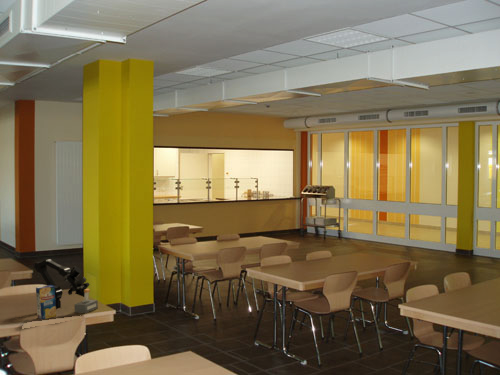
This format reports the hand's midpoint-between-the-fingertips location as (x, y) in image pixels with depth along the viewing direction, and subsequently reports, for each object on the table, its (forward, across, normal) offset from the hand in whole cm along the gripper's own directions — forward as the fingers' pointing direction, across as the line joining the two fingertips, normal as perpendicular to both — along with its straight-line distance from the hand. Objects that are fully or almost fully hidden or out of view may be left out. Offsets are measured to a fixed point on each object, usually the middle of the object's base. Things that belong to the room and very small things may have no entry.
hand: (85, 296), depth 395 cm
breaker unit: (+7, 0, +7) cm, 10 cm away
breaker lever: (+3, 0, +2) cm, 3 cm away
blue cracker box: (-4, -23, +19) cm, 30 cm away
